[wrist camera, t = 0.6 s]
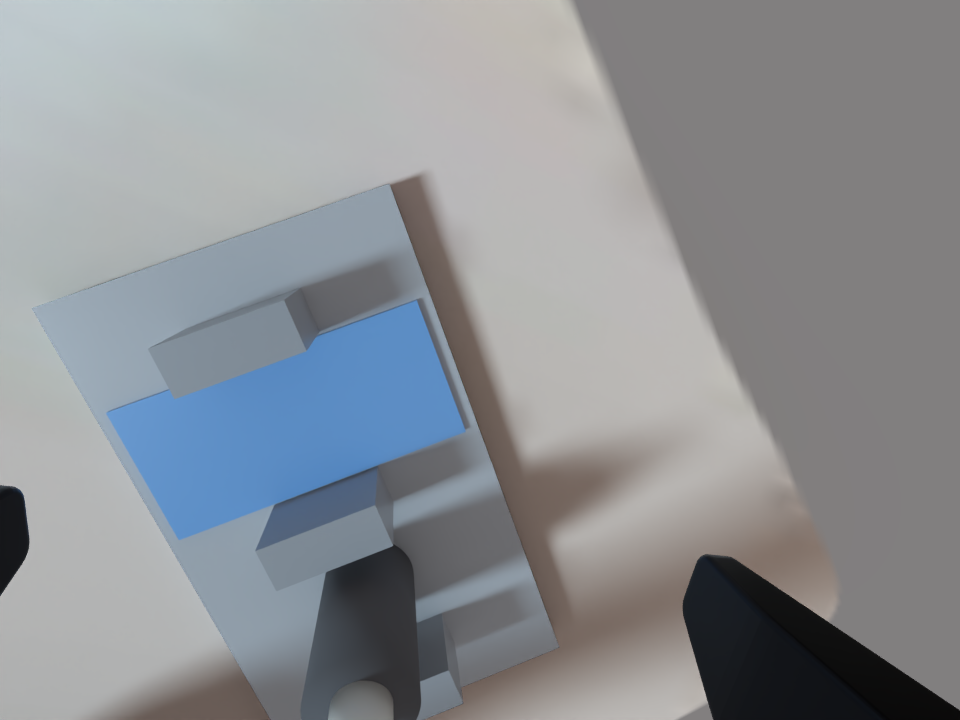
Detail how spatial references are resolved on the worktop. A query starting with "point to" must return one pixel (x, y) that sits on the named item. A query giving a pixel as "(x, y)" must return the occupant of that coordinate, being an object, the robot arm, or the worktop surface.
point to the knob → (365, 643)
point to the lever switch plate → (307, 442)
